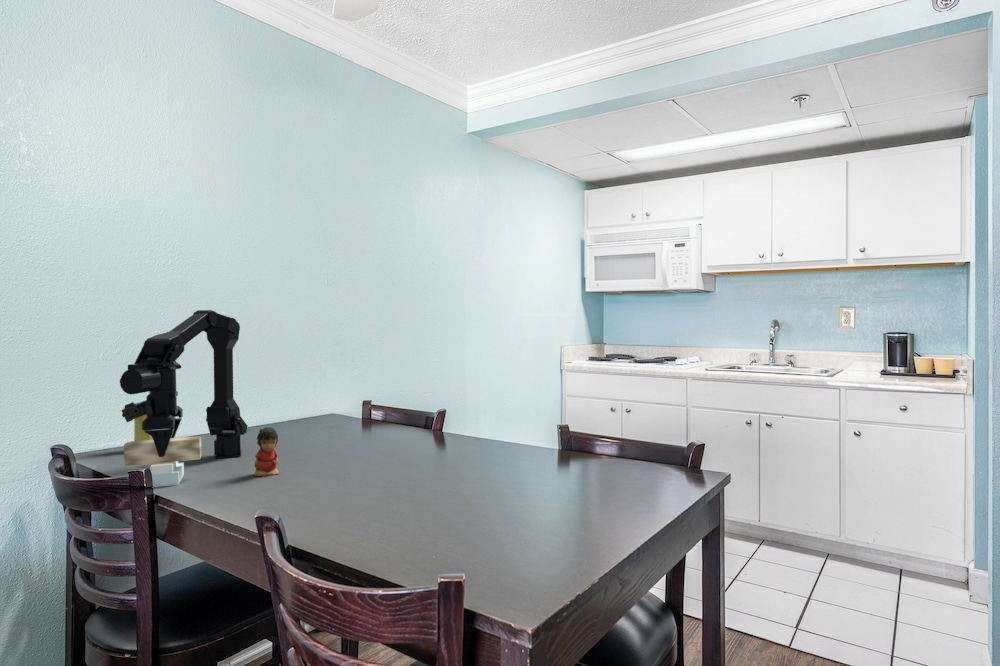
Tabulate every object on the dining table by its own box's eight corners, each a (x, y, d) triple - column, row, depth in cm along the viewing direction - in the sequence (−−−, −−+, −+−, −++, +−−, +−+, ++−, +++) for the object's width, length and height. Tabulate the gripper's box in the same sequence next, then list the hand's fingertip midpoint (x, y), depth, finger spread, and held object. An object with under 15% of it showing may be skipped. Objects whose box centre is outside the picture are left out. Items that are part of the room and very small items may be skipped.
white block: (184, 474, 150) (183, 454, 150) (178, 484, 141) (178, 464, 141) (152, 477, 147) (152, 457, 147) (144, 488, 138) (144, 466, 138)
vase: (161, 447, 181) (160, 401, 180) (147, 452, 175) (146, 404, 174) (143, 447, 181) (141, 401, 181) (128, 452, 175) (127, 404, 175)
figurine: (248, 475, 149) (247, 428, 148) (266, 470, 154) (265, 424, 153) (265, 478, 146) (265, 430, 145) (283, 472, 151) (282, 426, 150)
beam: (201, 455, 149) (201, 436, 149) (199, 459, 145) (199, 439, 145) (128, 462, 143) (127, 441, 143) (124, 465, 139) (123, 444, 139)
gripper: (132, 386, 149) (134, 447, 150) (115, 395, 132) (117, 464, 132) (182, 384, 153) (183, 443, 154) (171, 392, 136) (173, 460, 136)
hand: (164, 452), depth 144 cm, fingers open, 9 cm apart
